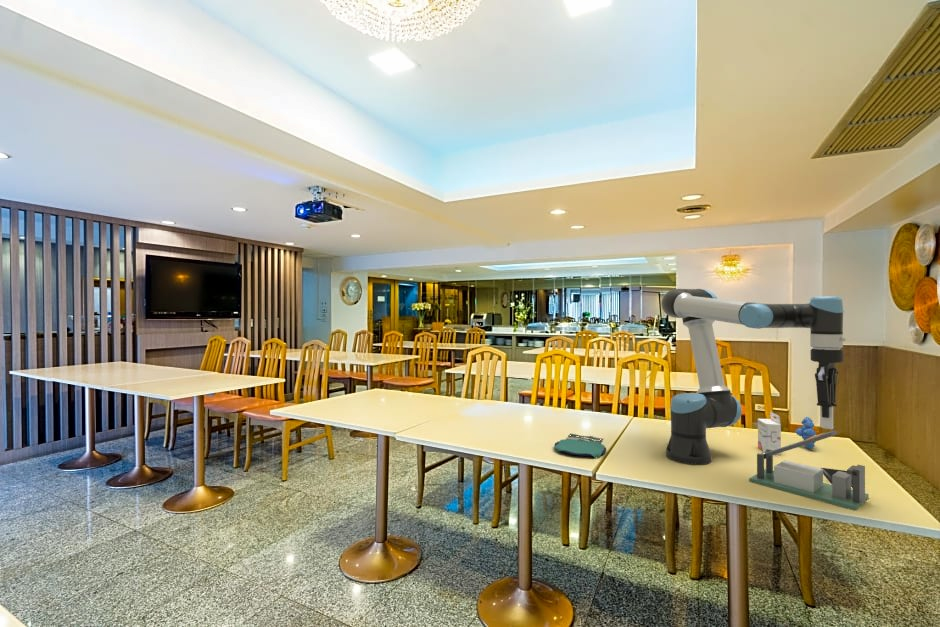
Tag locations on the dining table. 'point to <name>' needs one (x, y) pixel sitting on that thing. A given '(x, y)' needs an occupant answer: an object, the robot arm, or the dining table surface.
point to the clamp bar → (800, 443)
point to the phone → (830, 472)
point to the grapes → (807, 431)
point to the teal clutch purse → (581, 446)
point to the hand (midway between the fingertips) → (826, 428)
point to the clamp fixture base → (813, 482)
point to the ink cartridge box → (769, 433)
